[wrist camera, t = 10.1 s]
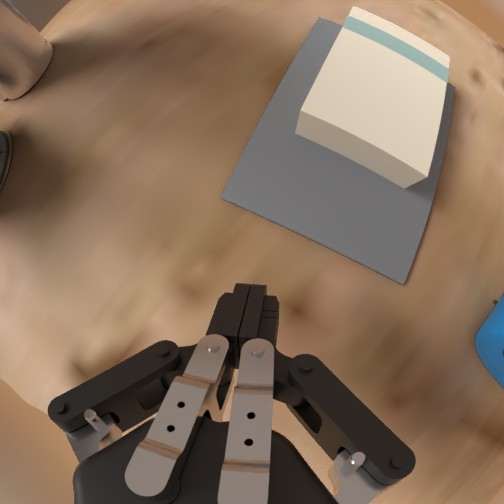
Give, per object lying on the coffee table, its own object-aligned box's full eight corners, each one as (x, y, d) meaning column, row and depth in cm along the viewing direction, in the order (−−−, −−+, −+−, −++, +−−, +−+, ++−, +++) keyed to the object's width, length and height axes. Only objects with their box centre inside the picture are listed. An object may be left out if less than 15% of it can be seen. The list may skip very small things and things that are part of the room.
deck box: (428, 177, 17) (450, 57, 18) (299, 109, 18) (353, 5, 18) (404, 189, 22) (432, 76, 22) (294, 133, 22) (344, 31, 22)
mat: (400, 284, 22) (403, 284, 21) (221, 198, 23) (220, 197, 22) (453, 89, 22) (455, 87, 22) (318, 20, 23) (319, 17, 22)
